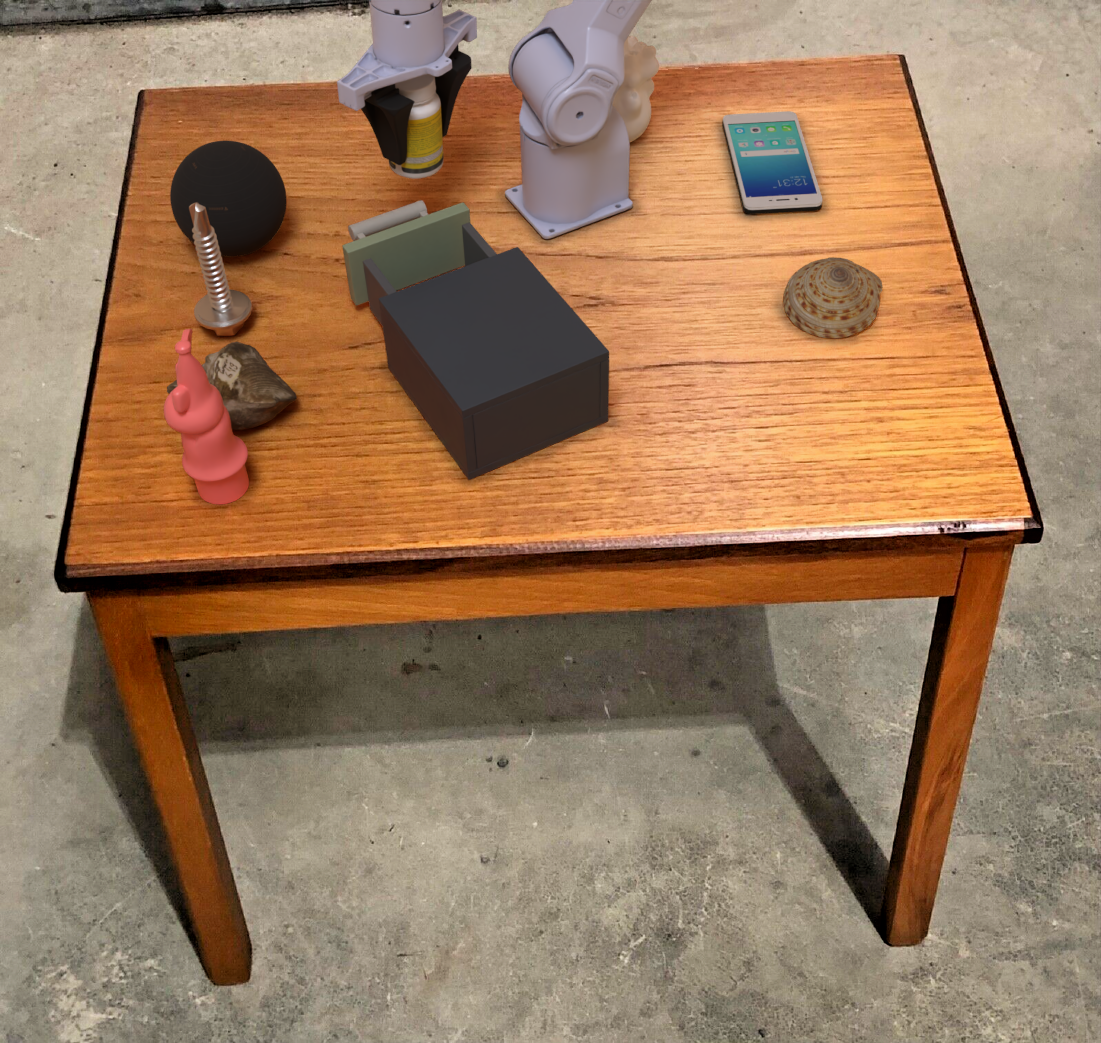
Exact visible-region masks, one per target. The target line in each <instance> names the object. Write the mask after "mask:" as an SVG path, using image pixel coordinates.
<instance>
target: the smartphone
mask: <svg viewBox="0 0 1101 1043" xmlns="http://www.w3.org/2000/svg"><path fill="white" fill-rule="evenodd" d="M800 124H801V123H800V120H799V118H798V114H796V112H794V111H790V110H789V111H770V112H767V111H766V112H750V113H732V114H731V113H730V114H725V115H724V116H722V124H721V127H722V130H723V135H724V138H725V142H726V146H727V151H728V154H729V158H730V163H731V166H732V170H733V176H734V180H735V183H736V184H735V185H736V187H737V190H738V195H739V200H740V203H741V208H742V211H743V212H744V213H745V214H747V215H767V214H781V213H799V212H800V213H801V212H802V213H803V212H816V211H819V210H821V209H822V207H823V196H822V193H821V188H820V186H819V183H818V180H817V177H816V174H815V170H814V166H813V164H812V163H813V162H812V160H811V157H810V153H809V151H808V146H807V144H806V141H805V138H804V134H803V131H802V127H801V125H800Z"/></svg>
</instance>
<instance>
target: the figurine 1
mask: <svg viewBox="0 0 1101 1043" xmlns="http://www.w3.org/2000/svg"><path fill="white" fill-rule="evenodd" d="M193 333H194V332H193V328H185V329H183V331H182V334H181V338H180V340H179V341H177V342H176V343H175V345H174V351H175V353H177V354H178V359H177V362H176V363H175V368H174V369H175V375H176V380H177V387H176V388H175V389H174V390H173V391H172V392H171V393H170V394H168V395H167V397H166V399H165V401H164V404H163V416H164V417H163V418H164V420H165V421H166V423H167V425H168V426H169V428H171V429H172V430H173V431H175V432H178V433H180V439H181V445H182V448H183V453H182V457H181V465H182V468H183V470H184V471H185V474H187V476H189V477H191V478H192V479H193V480H194V483H195V486H196V489H197V492H198V495H199V497H200V498H201V499H202V500H203V501H204V502H207V503H209V504H212V505H227V504H231V503H234V502H235V501H237V500H239V499H240V498H242V497H243V496H244V495H245V494H246V492H247V491H248V489H249V485H250V480H249V475H248V472H247V468H246V462H247V460H248V457H249V451H248V447H247V445H246V443H245V442H244V441H243V440H242V439H241V437H238V435H237V436H236V435H234V432H233V429H232V427H231V420H230V415H229V412H228V410H227V408H226V407H225V406H224V404H223V399H222V396H221V394H220V392H219V391H218V389H217V388H216V387H215V386H213V385H212V384H210V383H209V380H208V377H207V374H206V372H205V370H204V368H203V367H202V365H203V364H202V363H201V362H200V361H199V360H198V359H197V358H196V357H195V356H194V355H193V354H192V344H193V343H192V340H193Z"/></svg>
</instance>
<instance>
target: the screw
mask: <svg viewBox="0 0 1101 1043" xmlns="http://www.w3.org/2000/svg"><path fill="white" fill-rule="evenodd" d="M189 210H190V214H191V218H192V222H193V225H194V227H193V229H192V232H193V233H194V234H193V239H194V240H195V241H194V243H193V244H194V246H195V251H196V256H197V257H198V262H199V263H200V264H199V267H200V268H201V274H202V278H203V281H204V285H205V289H206V291H207V292H206V293H207V294H205V295H204V296H202V297H201V298H200V299H199V300H198V301H197V303H196V304H195V305H194V309H193V315H194V318H195V321H196V322H197V324H198V325H200V326H201V327H203V328H205V329H207V330H212V331H213V332H214V333H215V334H216V336H217V337H232V336H235V335H236V334H237V333H238V332H239V331H240V330H241V329H242V328H243V327H244V326H245V325H244V323H246V321H247V320H248V319H249V318H250V316H251V314H252V312H253V303H252V300H251V298H250V297H249V296H248V295H247V294H246V293H244V292H243V291H239V290H236V289H231V288H230V285H229V281H228V279H227V274H226V269H225V267H224V266H225V264H224V262H223V256H221V252H220V251H219V249H220V248H219V245H218V240H217V239H216V238H217V236H216V234H215V232H214V228H213V227H212V226H210V223H209V220H208V216H207V212H206V208H205V207H204V206H202V205H200V204H199V203H198V202H196V203H193V204H191V205H190V206H189Z"/></svg>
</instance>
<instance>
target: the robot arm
mask: <svg viewBox="0 0 1101 1043" xmlns="http://www.w3.org/2000/svg"><path fill="white" fill-rule="evenodd" d="M652 1H653V0H572V2H571V3H569V4H567V5H563V6H559V7H556V8H552V9H550V10H548V11H547V12H546V13H545V15H544V16H543V18H542V20H541V21H540V23H539V24H538V25H537V26H536V27H535V28H533V29H532V31H530V32H528V33H527V34H526V35H524V36H523V37H521V39H520V40H519V41H518V42H516V44H515V45H514V47H513V49H512V50H511V53H510V56H509V59H508V67H507V68H508V75H509V78H510V80H511V82H512V84H513V85H514V87H516V88H517V90H518V91H519V92H520V93H521V100H522V103H521V107H520V111H519V115H518V121H519V124H518V125H519V142H520V145H519V146H520V167H521V169H520V170H521V184H518V185H516V186H513V187H510V188H507V189H506V190H505V191H504V196H505V197H506V199H507V200H508V201H509V202H510V203H511V204H512V206H513V207H514V208H515V209H516V210H517V211H518V212H519V213H520V214H521V216H522V217H523V218H524V219H525V220H526V221H527V222H528V223H529V225H531V226H532V227H533V229H534V230H535V231H536V232H537V233H538V234H539V235H540V237H542V239H545V240H550V239H552V238H555V237H559V236H561V235H563V234H566V233H569V232H571V231H574V230H577V229H580V228H582V227H585V226H588V225H590V224H593V223H595V222H598V221H602V220H604V219H606V218H609V217H611V216H615V215H617V214H619V213H620V214H621V213H622V212H625V211H629V210H631V209H632V208H634V207H633V206H634V202H633V200H632V199H630V198H629V196H630V162H631V161H630V158H631V155H630V154H631V144H630V143H631V142H629V137H628V132H627V129H626V126H625V123H624V121H623V119H622V117H621V115H620V113H619V112H618V111H617V109H616V108H615V107H614V106H613V100H614V98H615V95H616V93H617V91H618V90H619V88H620V86H621V85H622V83H623V82H624V43H625V41H626V39H627V38H628V36H631V34H632V32H633V30H634V28H635V27H636V26H637V24H638V22H639V21H640V19H641V18H642V16H643V15H644V13H645V12H646V10H647V9H648V7H649V5H650V4H651V2H652ZM368 2H369V12H370V14H369V15H370V26H371V38H372V44H370V46H369V47H368V48H367V50H365V52H364V53H363V54H362V56H361V57H360V58H359V59H358V61H357V62H355V65H354V66H353V67H352V68H351V69H350V70H349V71H348V73H346V74H345V75H344V76H343V77H341V78H340V79H338V80H337V81H336V85H337V94H338V95H337V96H338V103H340V104H342V105H344V107H346V108H349V109H351V110H354V111H355V112H358V111H360V110H361V111H362V113H363V114H364V116H365V117H366V119H367V121H368V124H369V125H370V127H371V129H372V131H373V133H374V137H375V139H376V140H377V143H378V145H379V149H380V151H381V152H380V153H381V155H382V157H383V158H384V159H386V160H387V161H389V160H390V161H392V162H394V163H395V164H397V165H402V164H403V163H405V161H406V157H407V127H408V121H409V116H410V113H411V109H412V107H413V104H414V102H415V101H413V100H411V99H409V98H407V97H405V96H403V95H401V94H399V88H395V84H396V83H399V82H403V81H406V80H409V79H413V78H416V77H419V76H423V75H426V74H430V75H432V76H435V85H436V93H437V95H438V96H439V98H440V102H441V118H442V137H443V138H444V137H446V136H448V131H449V128H450V123H451V120H452V115H453V111H454V107H455V104H456V101H457V98H458V95H459V92H460V90H461V88H462V86H463V83H464V81H465V79H466V78H467V77H468V75H469V73H470V71H471V70H472V68H473V67H472V57H471V56H470V55H469V54H467V53H465V52H463V51H460V50H459V44H460V43H461V42H462V41H464V42H467V43H471V42H473V41H475V40H476V39H477V38H478V20H477V16H475V15H473V14H471V13H469V12H467V11H464V10H461V9H457V10H455V11H453V12H451V13H448V14H447V15H444V14H443V12H444V10H443V0H368Z"/></svg>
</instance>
